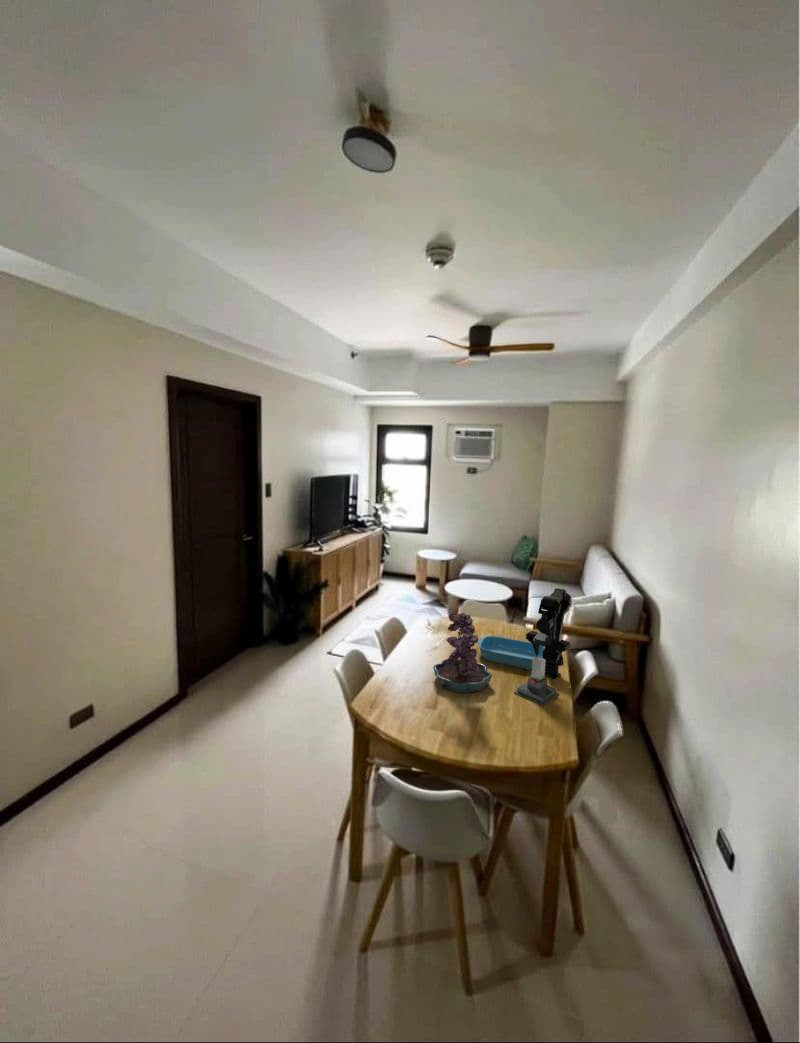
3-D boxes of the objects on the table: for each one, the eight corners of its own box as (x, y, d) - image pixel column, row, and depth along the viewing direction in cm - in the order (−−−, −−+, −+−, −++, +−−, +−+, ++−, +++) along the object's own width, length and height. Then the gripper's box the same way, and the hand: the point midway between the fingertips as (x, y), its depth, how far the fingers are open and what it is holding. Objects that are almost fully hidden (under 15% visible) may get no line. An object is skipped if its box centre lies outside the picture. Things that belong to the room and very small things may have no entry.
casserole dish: (551, 657, 227) (552, 644, 226) (548, 676, 206) (549, 661, 205) (481, 645, 241) (482, 632, 240) (471, 661, 221) (472, 647, 220)
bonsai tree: (438, 664, 215) (441, 600, 212) (494, 672, 208) (497, 607, 204) (421, 699, 182) (424, 624, 178) (487, 710, 174) (491, 633, 171)
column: (535, 680, 191) (536, 656, 190) (544, 683, 188) (545, 659, 187) (530, 683, 189) (532, 659, 187) (539, 686, 186) (541, 662, 184)
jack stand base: (530, 682, 199) (531, 668, 198) (559, 694, 189) (560, 679, 188) (513, 692, 189) (514, 677, 188) (543, 705, 179) (545, 690, 178)
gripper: (520, 623, 194) (518, 657, 195) (560, 636, 180) (557, 671, 182) (532, 618, 201) (530, 650, 203) (572, 629, 188) (569, 663, 190)
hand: (546, 658), depth 194 cm, fingers open, 9 cm apart
